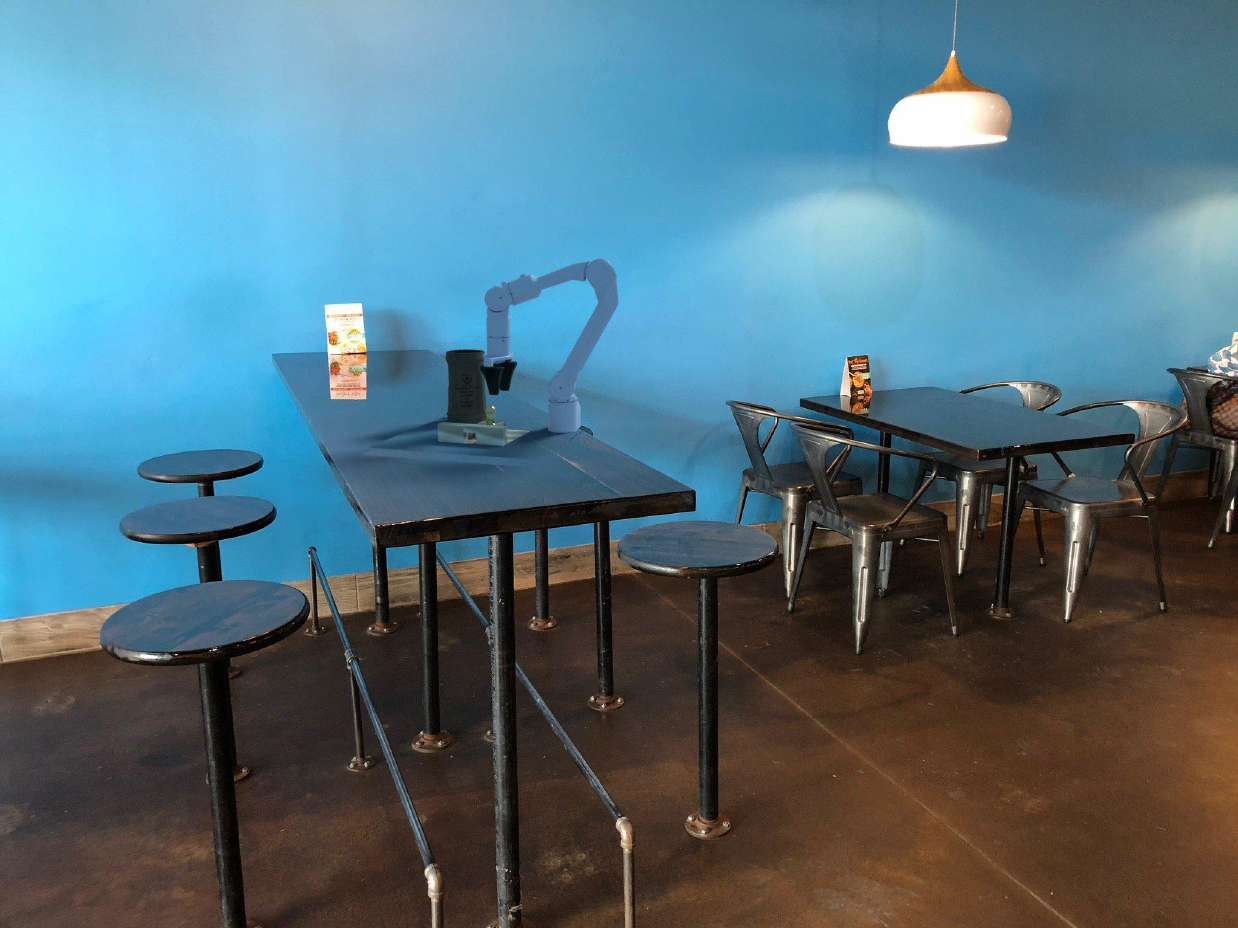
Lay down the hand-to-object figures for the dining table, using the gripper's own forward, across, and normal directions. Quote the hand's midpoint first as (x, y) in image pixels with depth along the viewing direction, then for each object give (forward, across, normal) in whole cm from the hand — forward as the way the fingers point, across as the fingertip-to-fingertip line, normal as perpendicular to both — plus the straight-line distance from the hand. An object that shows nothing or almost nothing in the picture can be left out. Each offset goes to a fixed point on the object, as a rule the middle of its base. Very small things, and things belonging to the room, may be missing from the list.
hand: (499, 392), depth 231 cm
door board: (+10, +10, 0) cm, 14 cm away
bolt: (+9, +9, 0) cm, 13 cm away
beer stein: (+11, -8, -13) cm, 19 cm away
